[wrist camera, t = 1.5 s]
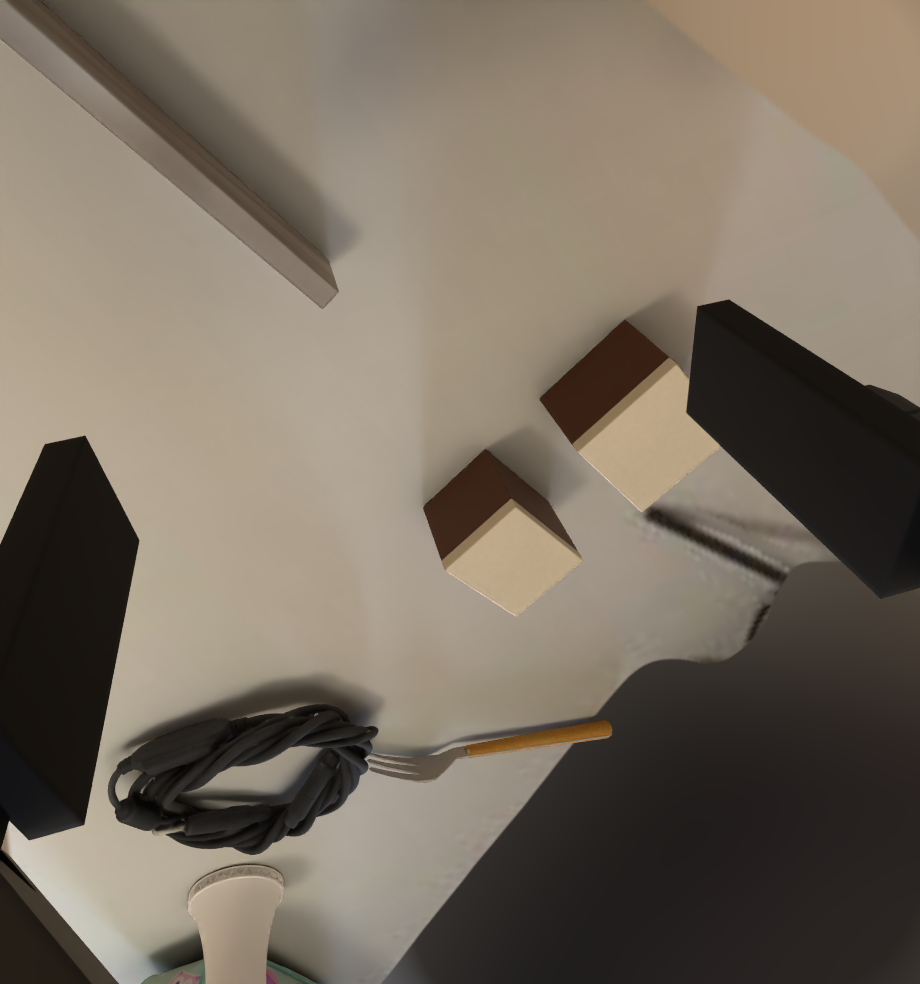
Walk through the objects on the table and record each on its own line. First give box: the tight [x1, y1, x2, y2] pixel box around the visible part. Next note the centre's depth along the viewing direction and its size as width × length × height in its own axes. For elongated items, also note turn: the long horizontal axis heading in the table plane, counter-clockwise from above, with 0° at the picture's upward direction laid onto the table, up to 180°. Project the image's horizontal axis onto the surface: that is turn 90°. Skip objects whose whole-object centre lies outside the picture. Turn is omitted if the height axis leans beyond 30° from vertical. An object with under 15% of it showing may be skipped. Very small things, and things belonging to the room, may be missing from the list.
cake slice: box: [423, 450, 583, 616], centre depth 38 cm, size 5×6×6 cm
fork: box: [367, 720, 612, 783], centre depth 54 cm, size 2×2×20 cm
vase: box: [188, 865, 284, 984], centre depth 54 cm, size 8×8×10 cm
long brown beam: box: [0, 0, 339, 309], centre depth 22 cm, size 2×17×10 cm, turn 43°
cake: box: [540, 320, 721, 512], centre depth 36 cm, size 6×6×6 cm
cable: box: [108, 704, 378, 855], centre depth 47 cm, size 17×14×4 cm
